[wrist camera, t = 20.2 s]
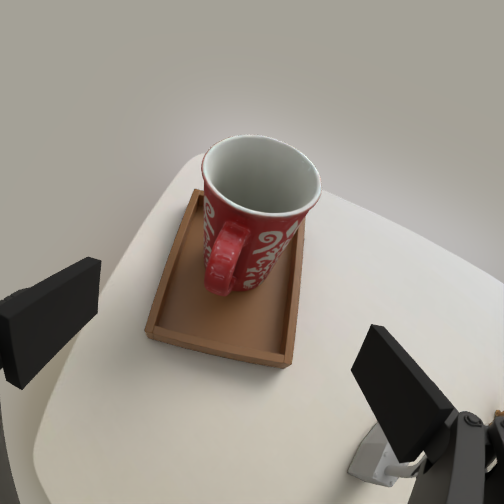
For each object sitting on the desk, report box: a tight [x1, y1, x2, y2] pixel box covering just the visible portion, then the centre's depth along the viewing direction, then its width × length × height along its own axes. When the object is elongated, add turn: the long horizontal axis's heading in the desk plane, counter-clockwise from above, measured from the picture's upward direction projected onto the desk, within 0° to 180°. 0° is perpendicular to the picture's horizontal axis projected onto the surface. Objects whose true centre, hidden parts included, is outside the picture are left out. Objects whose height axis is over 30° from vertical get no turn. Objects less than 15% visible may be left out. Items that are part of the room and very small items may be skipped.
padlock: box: [348, 422, 426, 487], centre depth 20 cm, size 7×4×10 cm, turn 143°
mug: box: [201, 135, 322, 296], centre depth 26 cm, size 13×9×14 cm
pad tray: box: [144, 189, 305, 369], centre depth 31 cm, size 14×18×2 cm
